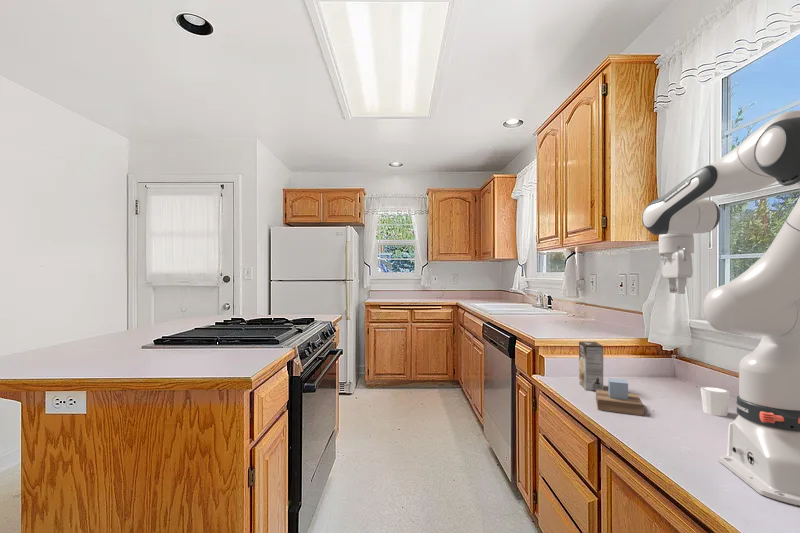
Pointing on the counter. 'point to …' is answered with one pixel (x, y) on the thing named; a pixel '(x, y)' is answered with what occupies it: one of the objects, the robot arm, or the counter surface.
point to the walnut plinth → (619, 403)
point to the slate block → (618, 388)
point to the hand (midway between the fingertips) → (676, 293)
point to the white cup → (715, 401)
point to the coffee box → (591, 365)
